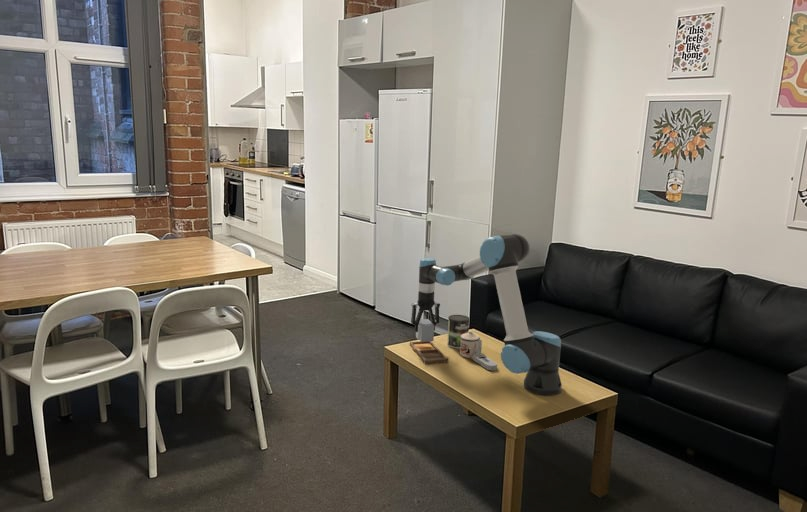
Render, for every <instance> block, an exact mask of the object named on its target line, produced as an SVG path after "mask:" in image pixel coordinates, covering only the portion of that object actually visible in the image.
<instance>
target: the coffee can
mask: <svg viewBox="0 0 807 512" xmlns="http://www.w3.org/2000/svg"><path fill="white" fill-rule="evenodd" d="M447 325H448V326H447V343H446V345H447V346H448V347H449V348H451V349H459V350H460V344H461V338H460V337H461V335H462V334H465V333H468V331H470V328H469V327H470V317H469V316H467V315H465V314H464V315H463V314H450V315H449V316H448V324H447Z"/></svg>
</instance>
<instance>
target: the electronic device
mask: <svg viewBox="0 0 807 512" xmlns="http://www.w3.org/2000/svg"><path fill="white" fill-rule="evenodd" d="M482 344H483V340H482V339H480V340H478V346H477V352H476V353H474V354H473V358H472V360H473V362H475V363H477V364H478V365H480V366H481V367H483V368H484V369H485V370H488V371H496V370H498V363H497V362H495V361H494V360H493V359H491V358H489V357H488V356H486V355H485V354H483V353H482V347H483V346H482Z"/></svg>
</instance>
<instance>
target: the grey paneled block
mask: <svg viewBox="0 0 807 512" xmlns="http://www.w3.org/2000/svg"><path fill="white" fill-rule="evenodd" d="M419 326H420V335H419V339H418V340H419V341H421V342H430V341H431V342H434V340H435V339H434V336H435V331H434V324H433V323H432V322H431V321H430V319H428V318H424V319H420V322H419Z"/></svg>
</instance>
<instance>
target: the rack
mask: <svg viewBox="0 0 807 512" xmlns="http://www.w3.org/2000/svg"><path fill="white" fill-rule="evenodd" d="M409 346H410V348H411V349H412V350H413V351H414V353H416V354H417V356H418V358H420V359H421V361H422V362H423V363H424V365H431V364H443V363H448V362H449V359H448V357H447V356H446V355H445V354H444V353H443V352H442V351H441V350H440V349H439V348H438V347H437V346H436V345H435V344H434V342H433V341H430V342H421V341H420V340H419V341H410V342H409Z"/></svg>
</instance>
